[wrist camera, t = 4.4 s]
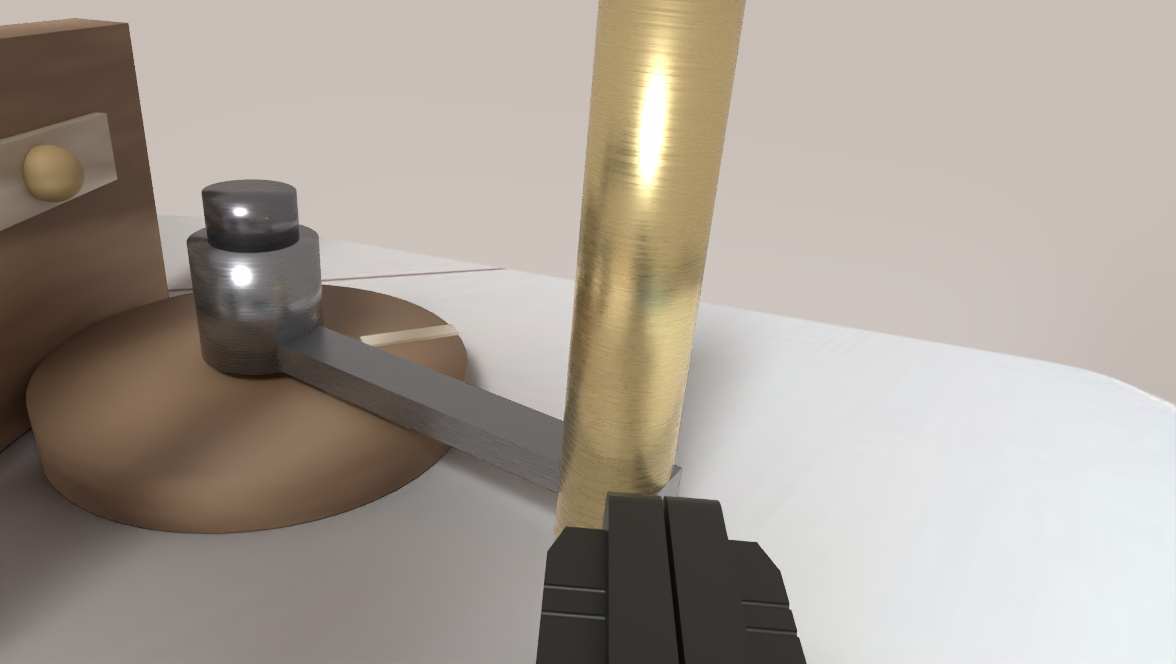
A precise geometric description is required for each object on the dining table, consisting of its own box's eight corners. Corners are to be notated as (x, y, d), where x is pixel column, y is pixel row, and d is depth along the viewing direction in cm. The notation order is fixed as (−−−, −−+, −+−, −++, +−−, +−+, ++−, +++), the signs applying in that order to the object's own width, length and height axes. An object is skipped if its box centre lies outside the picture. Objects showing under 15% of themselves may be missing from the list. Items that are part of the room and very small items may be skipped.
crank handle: (181, 386, 28) (108, -103, 21) (276, 347, 31) (237, -88, 25) (620, 603, 20) (708, -59, 14) (686, 521, 23) (782, -46, 17)
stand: (-148, 507, 22) (-316, 57, 17) (125, 309, 35) (74, 18, 30) (424, 551, 23) (423, 122, 18) (488, 340, 35) (498, 56, 30)
